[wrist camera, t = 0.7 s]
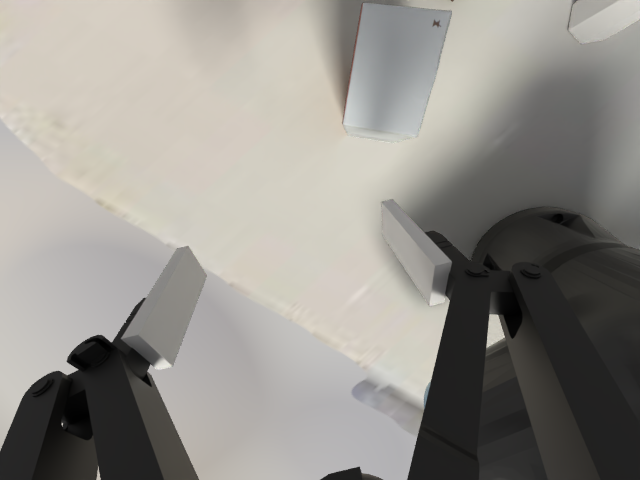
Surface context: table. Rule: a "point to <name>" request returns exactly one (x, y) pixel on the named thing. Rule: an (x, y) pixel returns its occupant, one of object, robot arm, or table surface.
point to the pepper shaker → (601, 18)
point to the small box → (393, 70)
